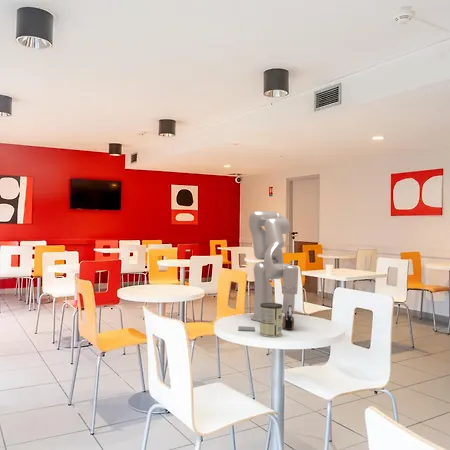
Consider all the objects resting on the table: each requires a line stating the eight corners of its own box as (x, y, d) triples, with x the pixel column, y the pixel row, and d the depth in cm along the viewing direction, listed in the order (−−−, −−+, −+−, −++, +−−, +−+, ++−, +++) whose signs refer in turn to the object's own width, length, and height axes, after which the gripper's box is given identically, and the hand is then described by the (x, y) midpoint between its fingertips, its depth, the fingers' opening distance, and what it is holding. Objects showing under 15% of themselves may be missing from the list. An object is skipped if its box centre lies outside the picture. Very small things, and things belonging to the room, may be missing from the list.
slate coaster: (238, 327, 222) (238, 326, 222) (254, 328, 222) (254, 326, 222) (238, 330, 214) (238, 329, 214) (255, 331, 214) (255, 330, 214)
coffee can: (261, 331, 214) (262, 302, 214) (282, 333, 212) (283, 303, 212) (257, 336, 204) (258, 305, 204) (280, 338, 202) (281, 306, 202)
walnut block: (282, 326, 225) (282, 316, 225) (292, 326, 225) (292, 316, 225) (283, 328, 220) (283, 318, 220) (293, 328, 220) (294, 318, 220)
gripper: (280, 287, 231) (279, 322, 231) (283, 292, 214) (281, 330, 214) (295, 288, 231) (293, 323, 231) (299, 293, 214) (297, 331, 214)
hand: (288, 326), depth 223 cm, fingers closed on walnut block, 5 cm apart
